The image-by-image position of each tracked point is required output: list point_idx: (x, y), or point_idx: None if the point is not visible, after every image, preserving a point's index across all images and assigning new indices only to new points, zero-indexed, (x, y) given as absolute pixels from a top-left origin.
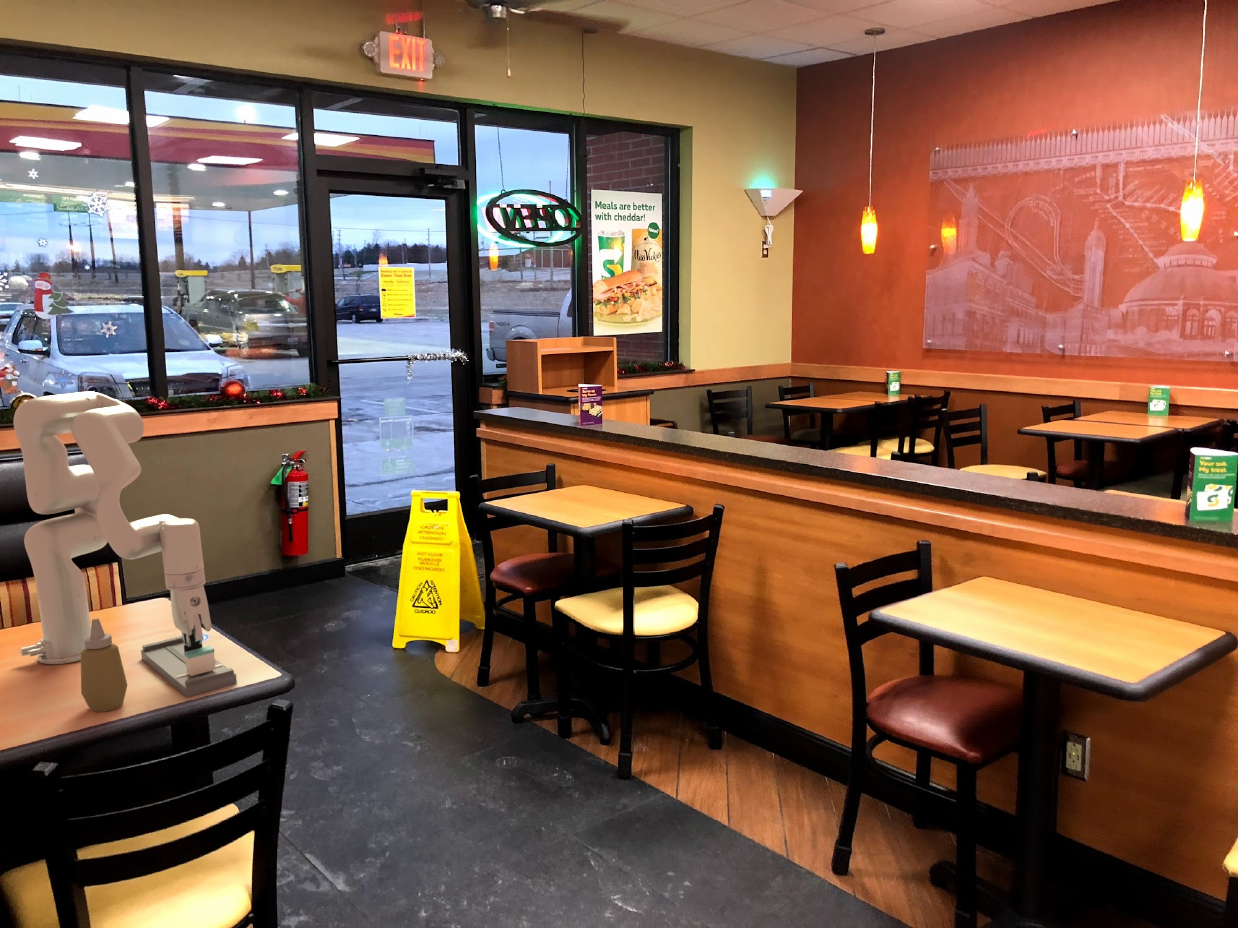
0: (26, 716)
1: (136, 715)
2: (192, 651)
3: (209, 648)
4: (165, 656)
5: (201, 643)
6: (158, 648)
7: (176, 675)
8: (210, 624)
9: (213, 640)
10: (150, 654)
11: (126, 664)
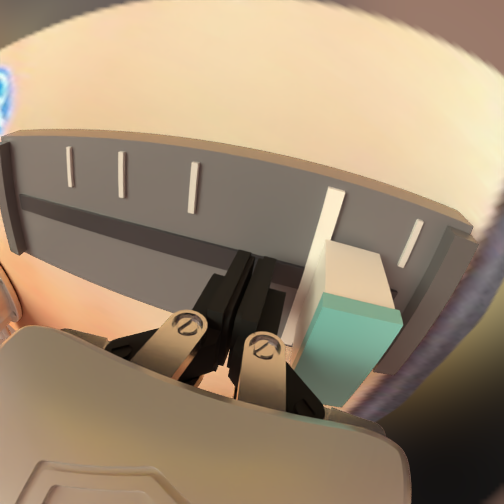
0: None
1: (352, 413)
2: (312, 382)
3: (369, 333)
4: (73, 245)
5: (283, 345)
6: (21, 219)
7: None
8: (410, 492)
9: (22, 61)
10: (45, 254)
11: (49, 272)
